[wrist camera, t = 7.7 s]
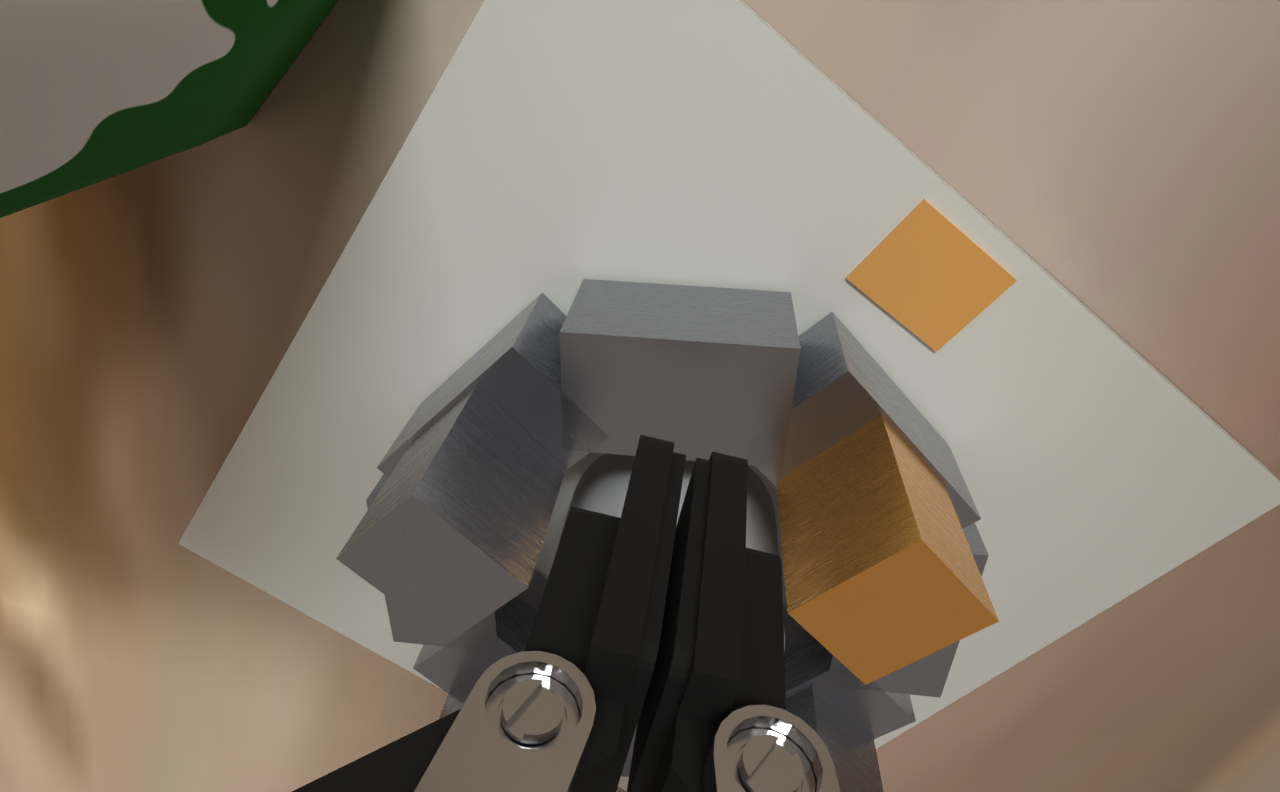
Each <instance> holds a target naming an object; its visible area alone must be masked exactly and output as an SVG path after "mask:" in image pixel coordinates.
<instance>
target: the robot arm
mask: <svg viewBox="0 0 1280 792" xmlns="http://www.w3.org/2000/svg"><path fill="white" fill-rule="evenodd" d="M673 450H674V442H671V441H666V440H662V439H658V438H654V437H649V436H645V435H641V434H640V438H639V442H638V447H637V451H636V455H635V459H634V464H633V468H632V472H631V476H630V481H629V485H628V489H627V493H626V498H625V502H624V506H623V510H622V515H621V518H619V517H615V516H610V515H606V514H602V513H598V512H594V511H589V510H585V509H581V508H577V507H572V508H571V509H570V512H569V515H568V518H567V521H566V524H565V527H564V530H563V533H562V536H561V540H560V543H559V546H558V549H557V552H556V555H555V558H554V561H553V564H552V567H551V570H550V574H549V577H548V580H547V583H546V586H545V589H544V592H543V595H542V598H541V601H540V604H539V608H538V611H537V614H536V617H535V620H534V623H533V626H532V629H531V632H530V635H529V638H528V642H527V645H526V648H525V651H521V652H518V653H515V654H511V655H508V656H505V657H503V658H501V659H500V660H498V661H497V662H495V663H494V664H492V665H491V666H489V667H488V668H487V669H486V671H485V672H484V673H483V674H482V676H481V677H480V678H479V679H478V681H477V682H476V684H475V686H474V687H473V689H472V691H471V693H470V694H469V696H468V698H467V700H466V701H465V703H464V705H463V707H462V708H461V709H460V710H457V711H455V712H453V713H451V714H449V715H447V716H445V717H443V718H441V719H439V720H437V721H435V722H433V723H431V724H429V725H427V726H425V727H423V728H421V729H419V730H417V731H415V732H413V733H411V734H409V735H407V736H404V737H402V738H400V739H398V740H396V741H394V742H392V743H390V744H388V745H386V746H384V747H382V748H380V749H378V750H376V751H374V752H372V753H370V754H368V755H366V756H364V757H362V758H360V759H358V760H356V761H354V762H351V763H349V764H347V765H345V766H343V767H341V768H339V769H337V770H335V771H333V772H331V773H329V774H327V775H325V776H323V777H321V778H319V779H317V780H315V781H313V782H311V783H309V784H307V785H305V786H303V787H301V788H298V789H296V790H294V791H292V792H616V790H617V787H618V784H619V781H620V777H621V774H622V771H623V768H624V765H625V761H626V758H627V755H628V752H629V749H630V745H631V742H632V739H633V736H634V733H635V729H636V735H635V741H634V748H633V754H632V761H631V767H630V773H629V780H628V786H627V792H840V788H839V784H838V779H837V775H836V771H835V766H834V764H833V761H832V759H831V756H830V753H829V751H828V748H827V747H826V745H825V744H824V743H823V741H822V740H821V738H820V737H819V735H818V734H817V733H816V731H814V730H813V729H812V728H811V727H810V726H809V725H808V724H807V723H805V722H804V721H803V720H802V719H801V718H799V717H797V716H795V715H794V714H792V713H790V712H788V711H786V691H785V656H784V621H783V586H782V563H781V558H780V556H779V555H776V554H771V553H767V552H763V551H759V550H754V549H750V548H746V519H747V483H748V460H747V459H743V458H739V457H735V456H730V455H726V454H722V453H718V452H712V453H711V455H710V458H709V460H706V459H702V458H696V460H695V464H694V467H693V470H692V474H691V477H690V481H689V484H688V488H687V491H686V494H685V498H684V501H683V505H682V508H681V512H680V515H679V519H678V522H677V517H678V510H679V503H680V496H681V489H682V482H683V475H684V468H685V461H686V455H685V454H680V453H676V452H673ZM676 524H677V526H676ZM636 726H637V728H636Z"/></svg>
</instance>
